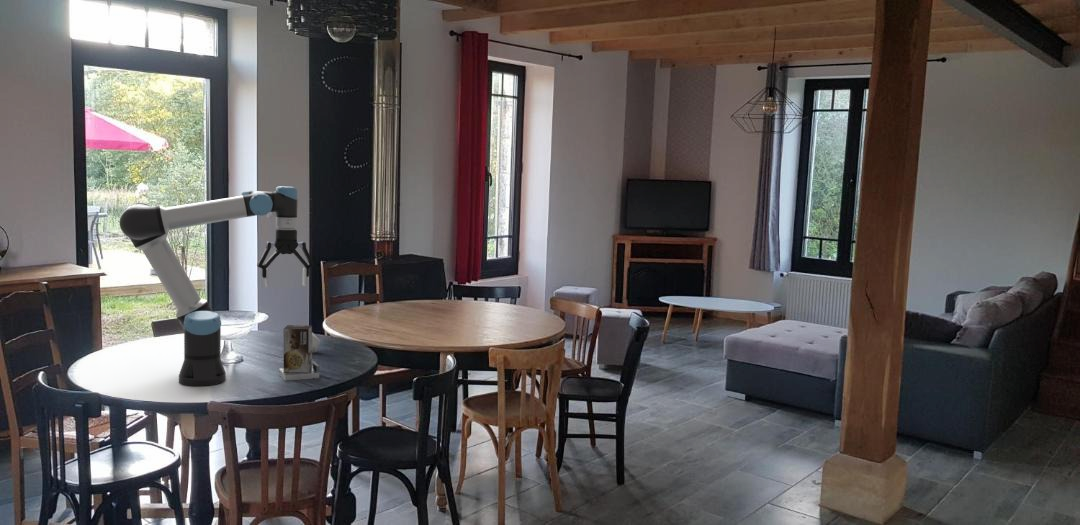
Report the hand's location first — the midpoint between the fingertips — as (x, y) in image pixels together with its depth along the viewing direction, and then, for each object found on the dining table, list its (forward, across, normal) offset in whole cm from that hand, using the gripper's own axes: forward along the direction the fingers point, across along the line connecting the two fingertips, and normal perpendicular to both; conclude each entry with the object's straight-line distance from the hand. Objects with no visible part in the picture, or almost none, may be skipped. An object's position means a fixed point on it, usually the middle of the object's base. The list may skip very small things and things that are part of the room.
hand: (285, 286), depth 311 cm
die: (+31, +14, +22) cm, 40 cm away
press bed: (+31, +2, -14) cm, 34 cm away
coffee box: (+29, +2, -14) cm, 32 cm away
